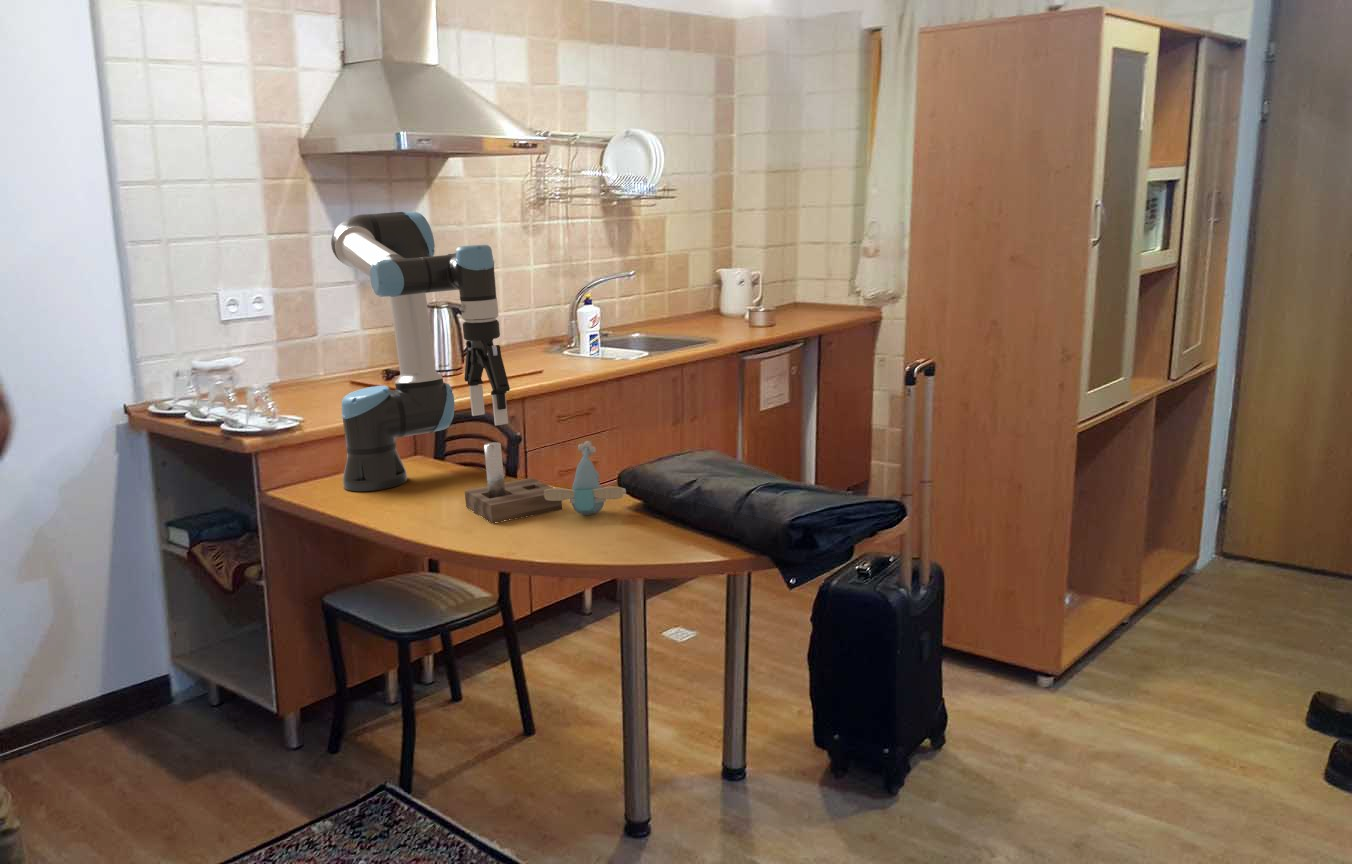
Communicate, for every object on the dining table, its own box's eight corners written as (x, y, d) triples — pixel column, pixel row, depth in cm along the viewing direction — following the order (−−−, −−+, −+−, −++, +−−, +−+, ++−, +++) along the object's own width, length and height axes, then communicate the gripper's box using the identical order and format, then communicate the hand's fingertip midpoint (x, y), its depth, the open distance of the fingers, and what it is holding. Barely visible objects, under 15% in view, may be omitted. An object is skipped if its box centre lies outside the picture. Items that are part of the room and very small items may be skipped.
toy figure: (631, 505, 238) (626, 438, 235) (624, 520, 228) (619, 449, 225) (555, 508, 240) (549, 440, 237) (545, 522, 230) (539, 451, 227)
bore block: (466, 507, 245) (464, 490, 244) (533, 494, 252) (531, 477, 252) (492, 523, 231) (490, 505, 230) (562, 509, 239) (560, 491, 238)
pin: (487, 507, 240) (481, 444, 238) (502, 504, 242) (497, 441, 239) (493, 510, 237) (487, 447, 235) (509, 507, 239) (503, 444, 236)
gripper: (443, 317, 240) (453, 413, 245) (484, 326, 219) (494, 431, 224) (476, 314, 244) (485, 408, 248) (520, 322, 223) (528, 425, 227)
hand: (489, 419), depth 236 cm, fingers open, 13 cm apart
